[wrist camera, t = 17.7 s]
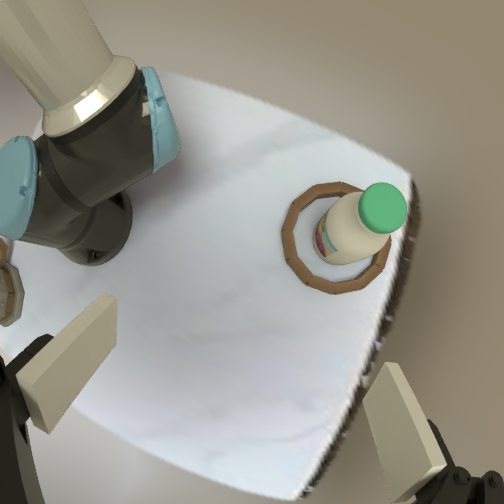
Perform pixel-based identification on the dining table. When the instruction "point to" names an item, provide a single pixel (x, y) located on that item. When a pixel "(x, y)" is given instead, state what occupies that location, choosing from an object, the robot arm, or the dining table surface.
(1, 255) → the tankard
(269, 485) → the dining table surface
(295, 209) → the walnut ring
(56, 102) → the robot arm
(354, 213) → the milk bottle
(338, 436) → the dining table surface
